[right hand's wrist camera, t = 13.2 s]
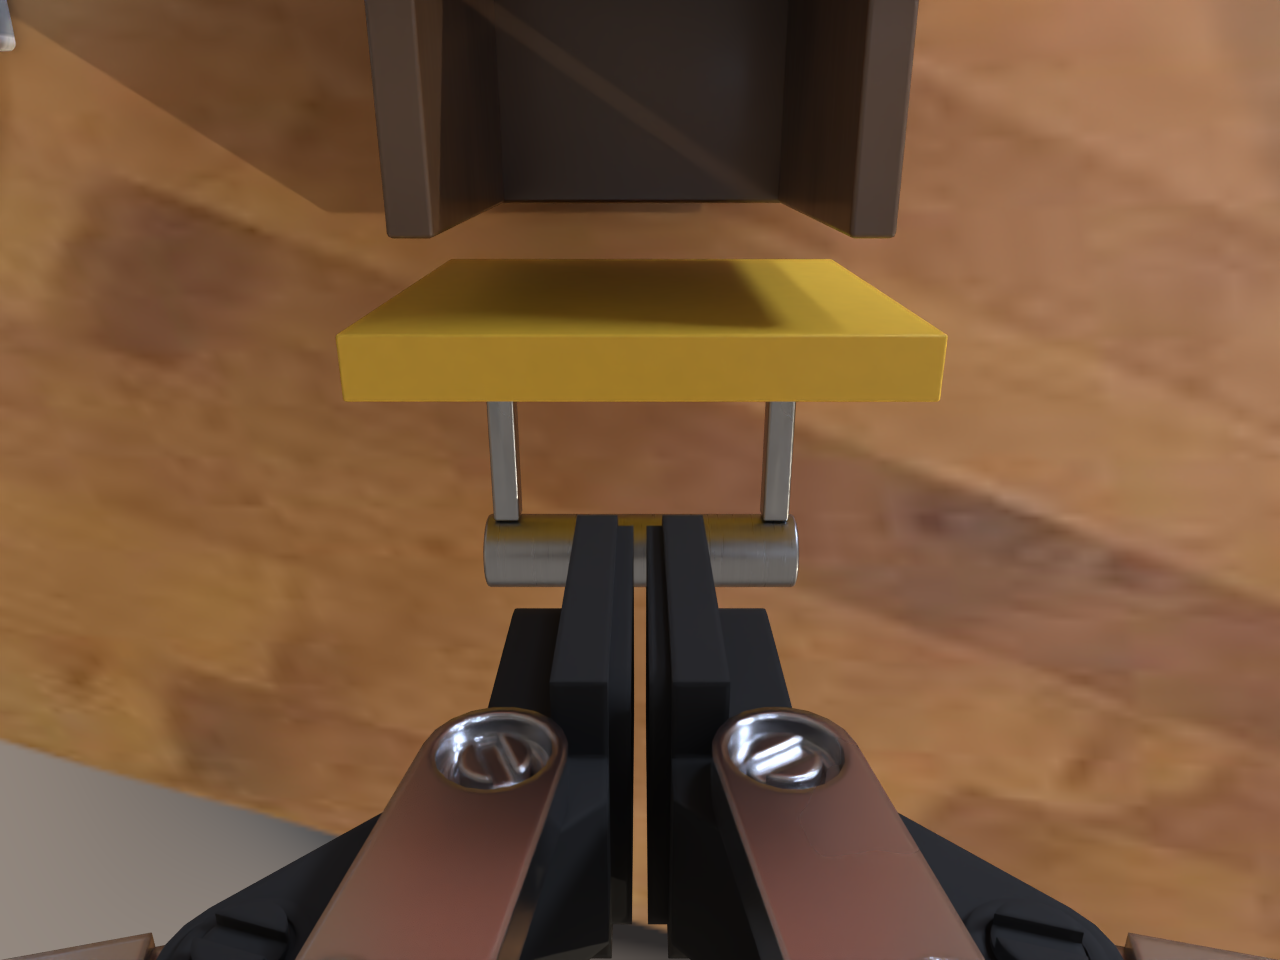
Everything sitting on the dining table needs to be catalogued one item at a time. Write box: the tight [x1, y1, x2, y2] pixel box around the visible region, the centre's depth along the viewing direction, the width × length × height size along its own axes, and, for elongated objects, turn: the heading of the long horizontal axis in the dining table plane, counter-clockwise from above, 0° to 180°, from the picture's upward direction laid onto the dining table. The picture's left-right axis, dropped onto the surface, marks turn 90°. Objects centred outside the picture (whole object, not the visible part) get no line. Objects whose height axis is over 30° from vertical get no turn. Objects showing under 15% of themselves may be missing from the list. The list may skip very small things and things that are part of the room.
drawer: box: [336, 0, 948, 587], centre depth 19 cm, size 21×10×10 cm, turn 0°
